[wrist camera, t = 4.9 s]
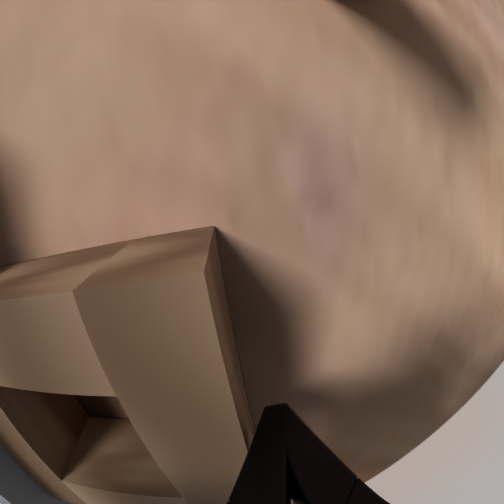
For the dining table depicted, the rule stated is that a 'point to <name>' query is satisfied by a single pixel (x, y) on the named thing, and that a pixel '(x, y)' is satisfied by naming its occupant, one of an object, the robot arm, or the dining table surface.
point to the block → (124, 372)
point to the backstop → (20, 485)
